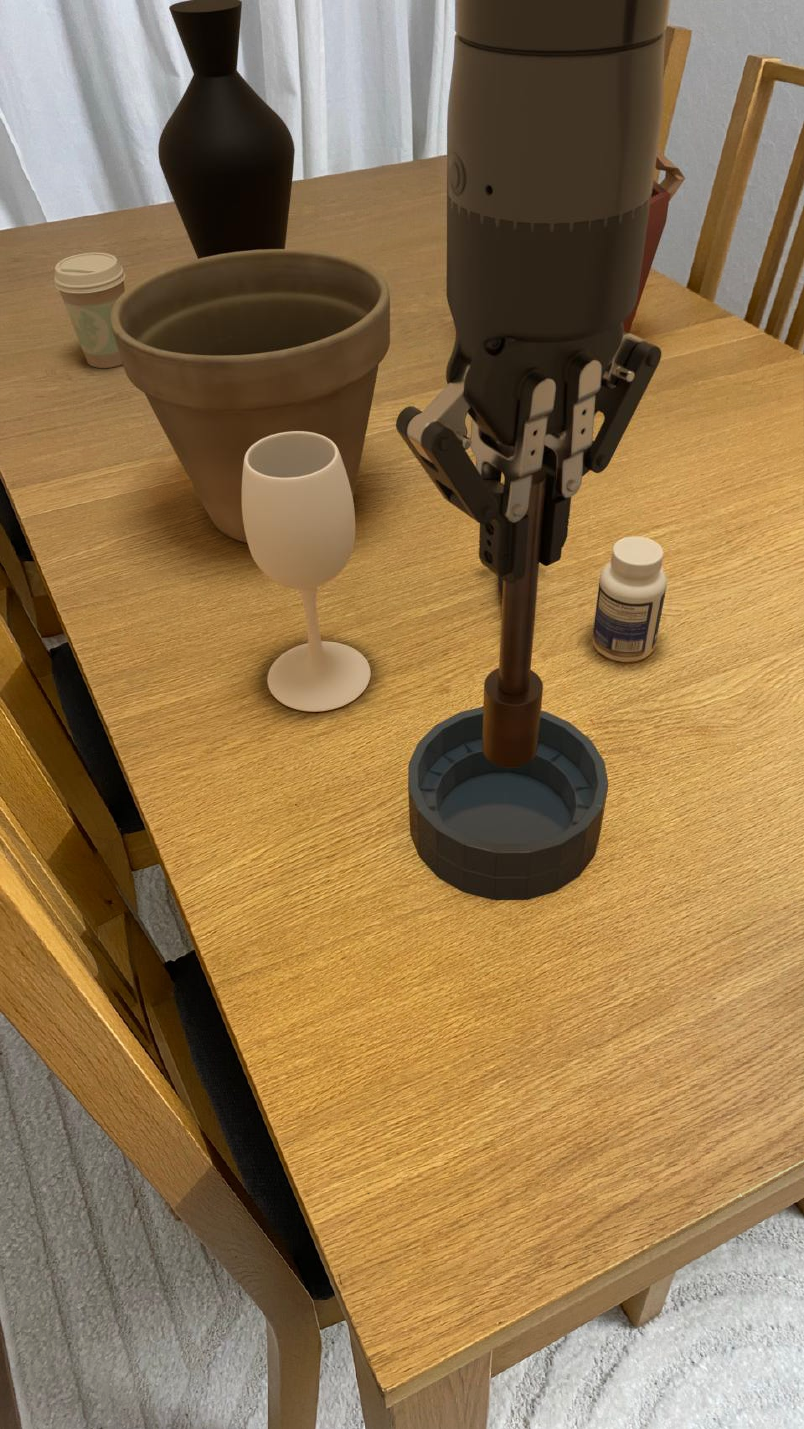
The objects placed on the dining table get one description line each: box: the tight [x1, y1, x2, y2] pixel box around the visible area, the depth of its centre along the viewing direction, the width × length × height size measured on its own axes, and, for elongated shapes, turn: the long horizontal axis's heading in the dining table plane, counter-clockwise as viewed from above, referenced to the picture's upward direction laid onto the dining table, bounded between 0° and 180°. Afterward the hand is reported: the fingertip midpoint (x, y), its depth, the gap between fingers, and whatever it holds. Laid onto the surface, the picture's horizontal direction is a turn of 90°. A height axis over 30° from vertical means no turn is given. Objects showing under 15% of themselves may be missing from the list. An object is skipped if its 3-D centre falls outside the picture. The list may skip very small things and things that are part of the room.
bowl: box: [407, 706, 609, 901], centre depth 69 cm, size 13×13×6 cm
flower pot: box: [110, 248, 391, 544], centre depth 95 cm, size 25×25×22 cm
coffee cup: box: [53, 252, 126, 369], centre depth 125 cm, size 8×9×12 cm
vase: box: [157, 0, 296, 259], centre depth 127 cm, size 17×17×35 cm
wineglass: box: [242, 431, 372, 713], centre depth 76 cm, size 9×9×21 cm
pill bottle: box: [592, 535, 668, 663], centre depth 82 cm, size 5×5×10 cm
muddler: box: [482, 469, 546, 768], centre depth 51 cm, size 3×3×18 cm
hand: (522, 563), depth 49 cm, fingers closed on muddler
